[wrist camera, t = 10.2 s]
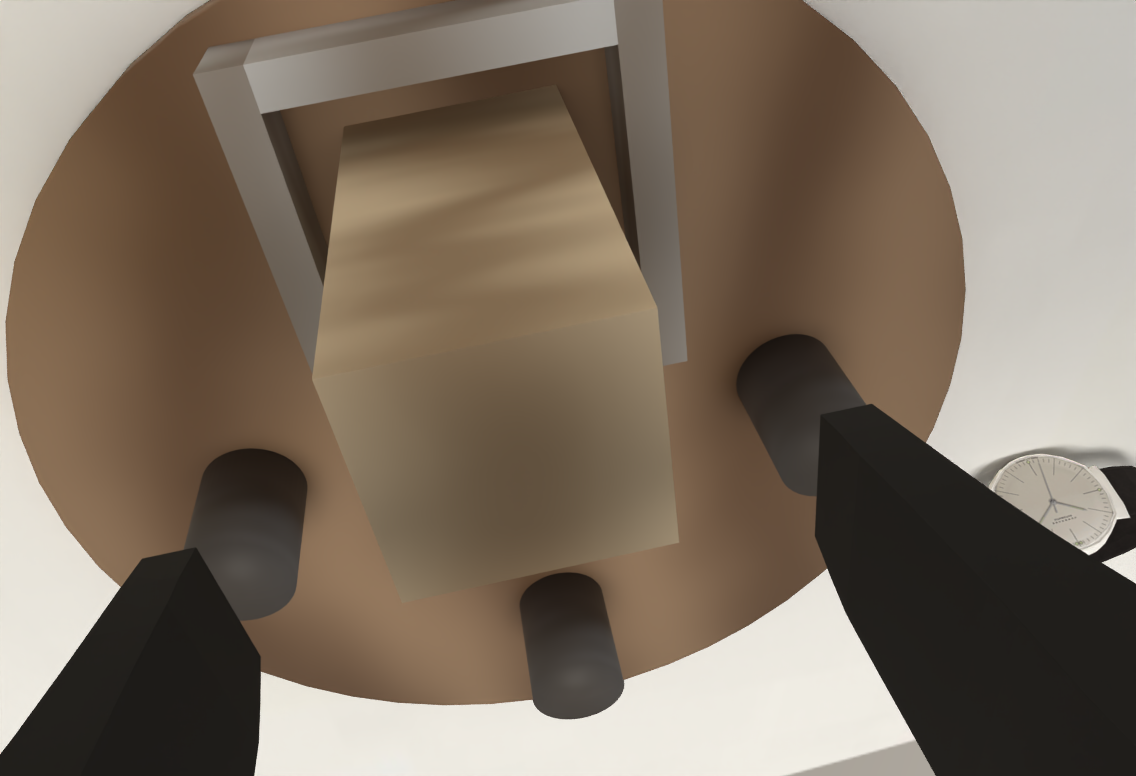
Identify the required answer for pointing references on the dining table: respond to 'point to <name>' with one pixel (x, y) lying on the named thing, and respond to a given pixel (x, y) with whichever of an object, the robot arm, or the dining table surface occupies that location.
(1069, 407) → the dining table surface
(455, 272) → the stool leg
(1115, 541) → the watch
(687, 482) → the stool seat
